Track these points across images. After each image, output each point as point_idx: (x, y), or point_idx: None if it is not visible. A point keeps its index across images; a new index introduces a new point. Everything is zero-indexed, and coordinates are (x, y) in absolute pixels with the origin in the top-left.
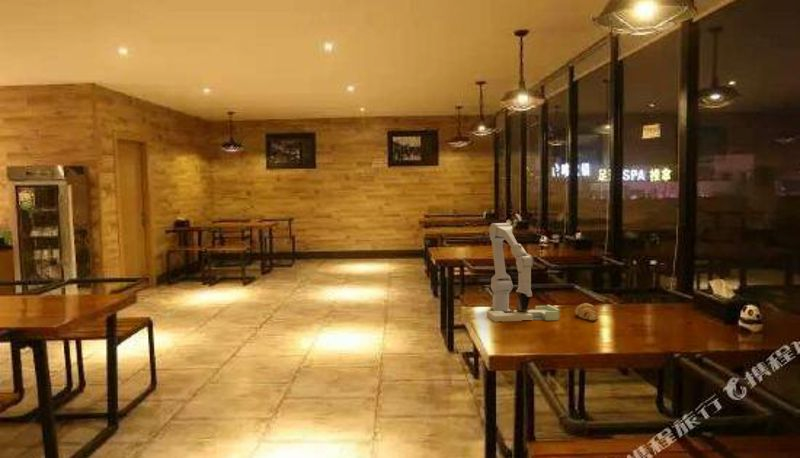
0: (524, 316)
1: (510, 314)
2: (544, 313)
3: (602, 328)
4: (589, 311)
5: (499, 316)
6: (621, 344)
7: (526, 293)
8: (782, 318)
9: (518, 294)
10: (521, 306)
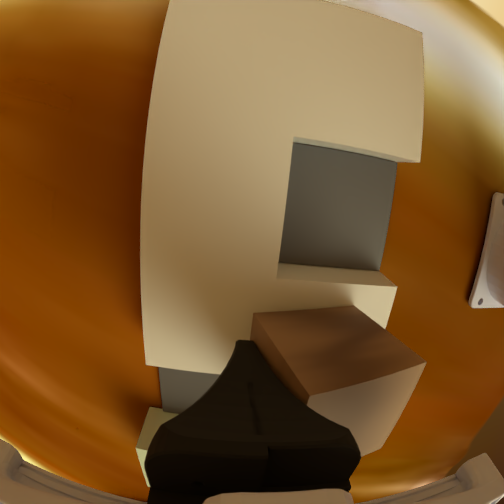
0: (143, 289)
1: (212, 167)
2: None
3: (35, 464)
4: None
5: (164, 30)
6: None
7: (3, 480)
8: None
9: (353, 456)
10: (266, 354)
